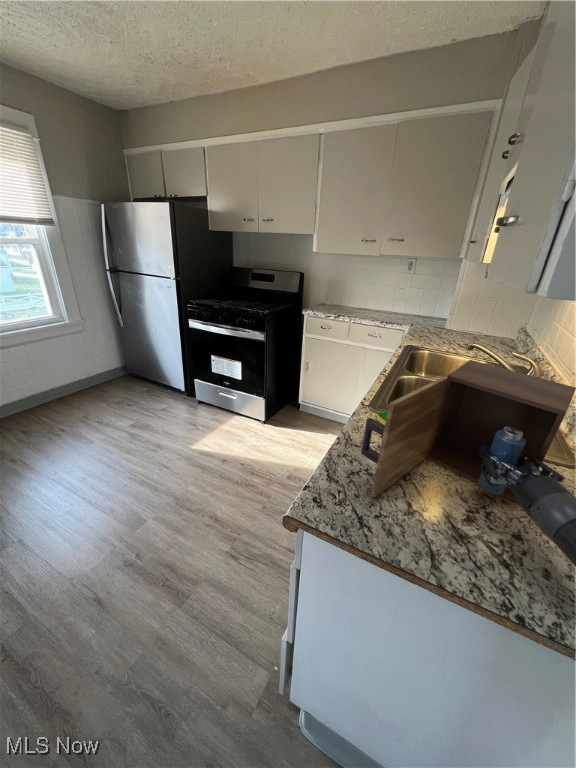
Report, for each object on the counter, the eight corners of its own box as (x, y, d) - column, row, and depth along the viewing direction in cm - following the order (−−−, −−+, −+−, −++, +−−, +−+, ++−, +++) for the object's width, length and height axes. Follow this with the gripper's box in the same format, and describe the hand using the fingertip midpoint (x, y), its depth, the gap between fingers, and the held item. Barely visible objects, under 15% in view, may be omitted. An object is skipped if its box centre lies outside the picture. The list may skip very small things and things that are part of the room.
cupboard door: (350, 480, 74) (365, 391, 64) (402, 446, 87) (420, 368, 77) (374, 497, 69) (394, 404, 59) (424, 459, 82) (448, 377, 72)
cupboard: (521, 505, 69) (566, 411, 59) (424, 457, 83) (447, 375, 73) (535, 472, 80) (576, 387, 69) (447, 434, 94) (470, 359, 83)
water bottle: (507, 486, 69) (531, 431, 63) (501, 498, 66) (525, 441, 60) (481, 474, 73) (502, 421, 66) (474, 485, 69) (495, 430, 63)
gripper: (607, 495, 51) (533, 435, 67) (520, 492, 51) (467, 433, 67) (586, 527, 55) (521, 463, 70) (505, 525, 54) (457, 461, 70)
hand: (495, 449), depth 68 cm, fingers closed on water bottle, 5 cm apart
